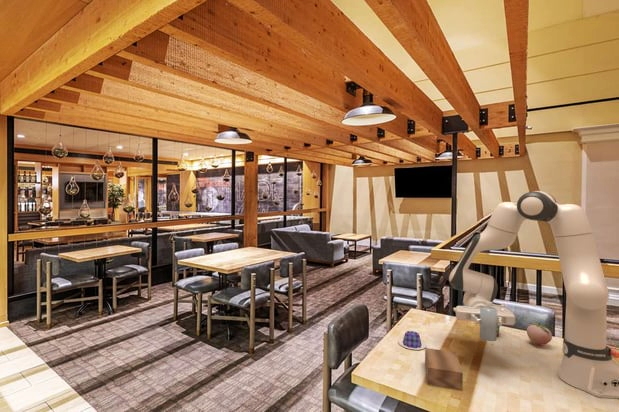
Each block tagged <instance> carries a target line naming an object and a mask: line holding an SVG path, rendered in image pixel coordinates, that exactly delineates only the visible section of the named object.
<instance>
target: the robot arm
mask: <svg viewBox="0 0 619 412" xmlns="http://www.w3.org/2000/svg"><path fill="white" fill-rule="evenodd" d="M526 220H530V221H534V222H535V221H536V222H537V221H538V222H547V223H548V224H549V225H550V227H551V231H552V235H553V240H554V243H555V244H554V245H555V247H556V251H557V255H558V261H559V264H560V270H561V275H562V280H563V285H564V289H565V293H566V301H565V322H564V337H562V338H563V339H562V354H563V355H562V360H561V365H560V368H559V370H558V372H557V375H558V377H559V378H560V379H561V380H562V381H563V382H565V383H566V384H569V385H570V386H572V387H574V388H576V389H579V390H581V391H584V392H587V393H588V394H590V395H592V396H594V397H598V398H605V399H619V362H618V361H616V359H619V352H618V351H616V350H614V349H612V348H611V347H609V346H608V345H607V327H608V325H607V324H608V323H607V321H608V320H607V318H608V315H607V302H608V300H609V297H610V293H609V289H608V285H607V282H606V278H605V275H604V271H603V267H602V263H601V258H600V256H599V251H598V248H597V244H596V240H595V235H594V233H593V229H592V226H591V223H590V221H589V218H588V217H587V215H586V212H585V210H584V209H583V208H582V207H581V206H580V205H578V204H573V203H565V204H559V203H557V201H556V199H555V197H554V196H553V195H551V194H550V193H547V192H545V191H541V190H535V191H528V192H525V193H523V194H522V195H521V196H520V197H519V198H518V200H517V202H511V201H502V202H500V203H498V205H496V207H495V209H494V210H493V212H492V214H491V216H490V218H489V220H488V222H487V225H486V227H485V228H484V230H483V231H482V232H480V233H478V234H475V235H474V236H473V237H472V239H470V241H469V242H468V244H467V246H466V248H465V249H464V251H463V252H462V255H461V256H460V258H459V260H458V262H457V263H456V265H455V266H454V267H453V269H452V270H451V271H450V274H449V276H448V282H449V284H450V285H451V286H452V288H453V289H454V290H457V291H461V292H464V295H463V299H462V300H463V304H464V305H456V307H453V308H452V310H453V312H455V318H456V319H457V320H459V321H465V322H466V321H469V322H474V323H475V324H479V325H480V324H481V319H480V307H481V306H489V307H493V308H496V309H497V326H500V327H502V325H506V326H507V325H508V326H514V325H515V324H516V315H515V314H514V313H513V312H512V311H511V310H509V309H508V308H506V306H505V305H504V304H503V303H498V302H494V301H495V299H496V297H497V295H498V290H499V288H498V286H499V285H498V283H497V281H496V279H495V277H494V276H492V275H489V274H487V273H486V274H485V273H483V272H479V271H475V270H472V269H469V268H470V265H471V264H472V262H473V261H474V259H475V257H476V256H477V255H478V254H479V253H480V252H484V251H499V250H503V249H507V248H509V247H511V246H512V245H513V244H514V242H515V240H516V239H517V236H518V235H519V234H518V233H519V231H520V228H521V226H522V224H523V223H524V222H525V221H526Z"/></svg>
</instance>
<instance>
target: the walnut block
mask: <svg viewBox="0 0 619 412" xmlns="http://www.w3.org/2000/svg"><path fill="white" fill-rule="evenodd" d="M424 350H425V351H424V352H425V353H424V354H425V355H424V365H425V372H426V373H425V374H426V380H427V385H430V386H435V387H442V388H447V389H448V388H449V389H452V388H453V390H460V391H463V385H464V384H463V381H464V379H463V377H464V374H463V373H464V372H463V369H462V366H461V364H460V360H459V359H458V358H459V357H458V355H457V352H456V351H452V350H451V351H450V350H449V351H448V350H443V349H436V348H430V347H425V348H424Z"/></svg>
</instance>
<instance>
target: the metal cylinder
mask: <svg viewBox="0 0 619 412" xmlns="http://www.w3.org/2000/svg"><path fill="white" fill-rule="evenodd" d="M480 319H481V324H479V338H480V339H481V340H484V341H487V342H496V341H497V338H498V337H497V309H496V308H493V307H489V306H481V307H480Z"/></svg>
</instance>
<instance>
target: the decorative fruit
mask: <svg viewBox="0 0 619 412" xmlns="http://www.w3.org/2000/svg"><path fill="white" fill-rule="evenodd" d="M529 324H530V325H529V326H527V329H526V334H527V336H528V338H529V340H530V341H532V342H533V343H535V344H536V345H537V346H543V345H547V344H549V343H550V342H551V341H552V339H553V335H552V331H551V330H550V329H549V328H547V327H546V326H543V325H540V324H541V323H540V322H538V323H537V322H530V323H529Z"/></svg>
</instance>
